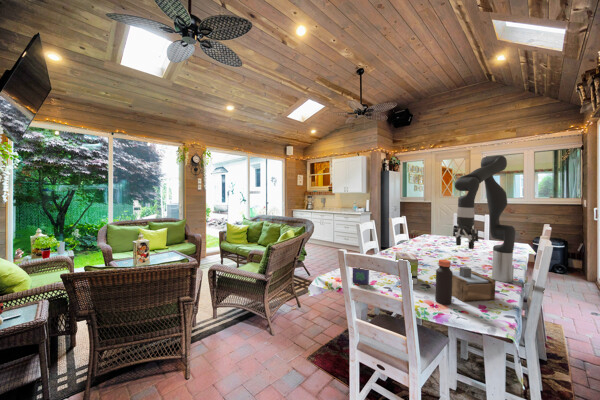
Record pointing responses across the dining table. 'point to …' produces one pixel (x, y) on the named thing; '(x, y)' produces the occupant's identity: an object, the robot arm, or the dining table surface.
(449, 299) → the bottle
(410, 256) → the tea box
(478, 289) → the walnut box
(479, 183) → the robot arm
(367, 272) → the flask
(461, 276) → the cover plate
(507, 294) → the dining table surface
